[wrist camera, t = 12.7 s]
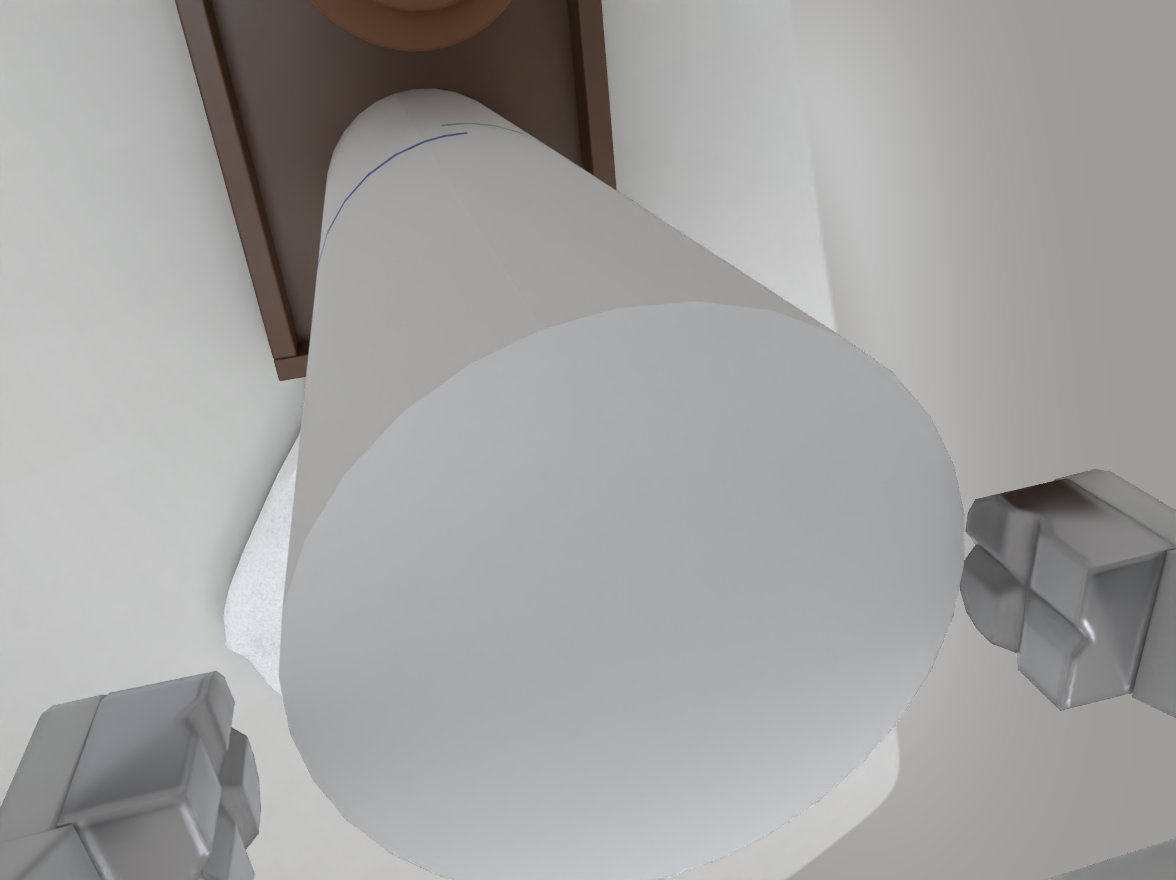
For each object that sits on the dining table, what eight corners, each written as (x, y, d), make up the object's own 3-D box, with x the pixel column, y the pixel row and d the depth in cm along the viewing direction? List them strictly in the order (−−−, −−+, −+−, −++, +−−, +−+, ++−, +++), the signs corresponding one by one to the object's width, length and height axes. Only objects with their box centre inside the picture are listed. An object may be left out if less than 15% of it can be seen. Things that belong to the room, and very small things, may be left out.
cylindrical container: (289, 129, 29) (120, 486, 7) (495, 58, 30) (932, 183, 8) (376, 325, 32) (443, 978, 10) (559, 258, 33) (986, 742, 11)
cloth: (197, 307, 31) (189, 327, 29) (581, 313, 34) (597, 331, 32) (245, 854, 41) (241, 897, 39) (535, 812, 45) (545, 849, 43)
